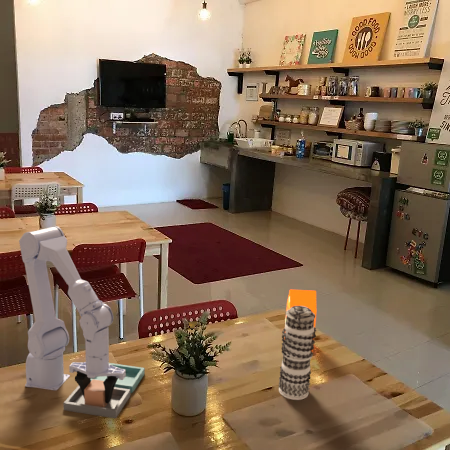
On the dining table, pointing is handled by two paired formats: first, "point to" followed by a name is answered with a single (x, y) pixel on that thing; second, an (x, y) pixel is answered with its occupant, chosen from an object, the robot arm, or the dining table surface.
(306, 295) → the orange juice
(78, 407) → the grey bin
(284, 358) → the decorative candle
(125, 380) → the teal bin
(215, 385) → the dining table surface
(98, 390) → the terracotta block
